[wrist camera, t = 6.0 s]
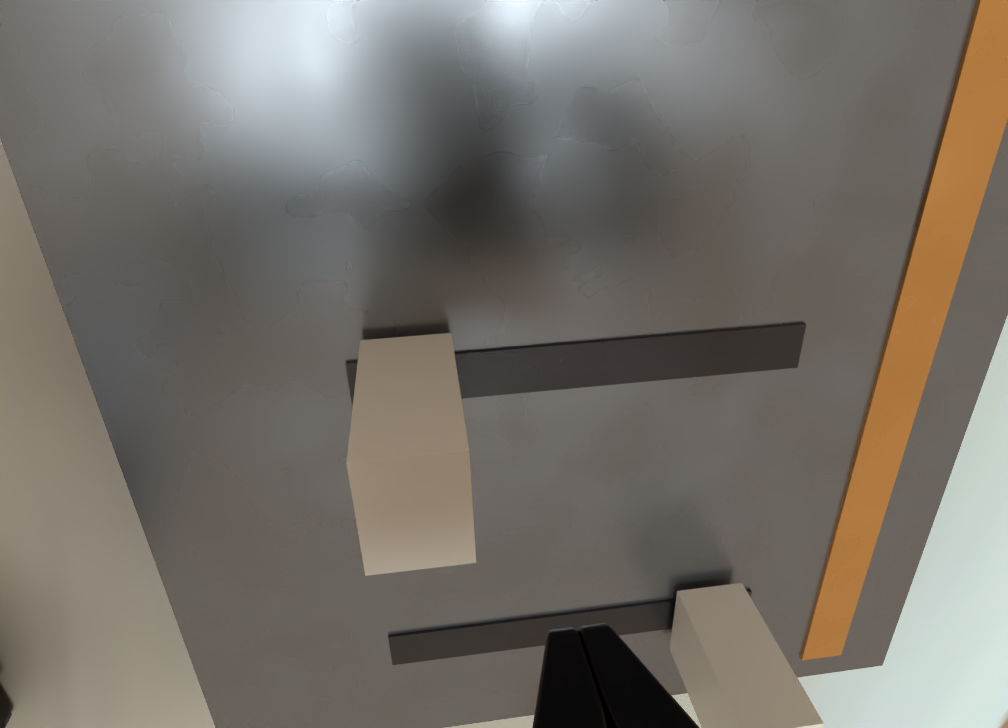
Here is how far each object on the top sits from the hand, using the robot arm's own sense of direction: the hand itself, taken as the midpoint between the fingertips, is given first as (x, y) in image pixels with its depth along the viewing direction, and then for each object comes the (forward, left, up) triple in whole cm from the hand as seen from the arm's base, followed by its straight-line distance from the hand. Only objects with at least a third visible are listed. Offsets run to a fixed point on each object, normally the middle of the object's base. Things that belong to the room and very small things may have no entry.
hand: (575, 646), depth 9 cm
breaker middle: (-2, 0, -8) cm, 8 cm away
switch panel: (+2, 0, -10) cm, 10 cm away
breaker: (+6, -9, -8) cm, 13 cm away
